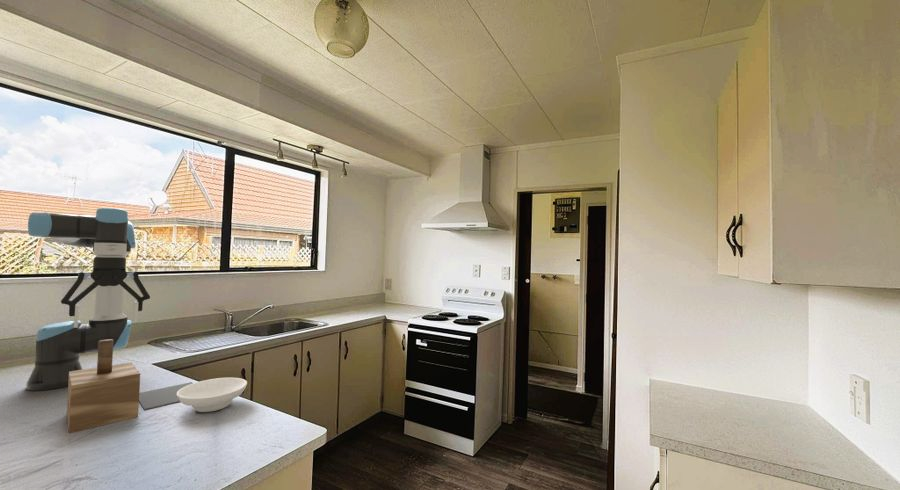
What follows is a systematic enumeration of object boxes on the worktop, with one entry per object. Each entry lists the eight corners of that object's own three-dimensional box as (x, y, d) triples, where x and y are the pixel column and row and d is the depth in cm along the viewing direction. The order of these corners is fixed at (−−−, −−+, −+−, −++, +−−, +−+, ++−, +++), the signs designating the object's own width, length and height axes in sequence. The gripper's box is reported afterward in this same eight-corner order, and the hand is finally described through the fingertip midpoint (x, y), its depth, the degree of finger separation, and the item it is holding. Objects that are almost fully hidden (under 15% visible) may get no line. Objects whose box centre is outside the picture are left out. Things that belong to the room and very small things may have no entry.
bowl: (259, 401, 125) (260, 381, 125) (205, 425, 106) (206, 402, 107) (218, 393, 131) (219, 374, 132) (160, 415, 113) (161, 393, 113)
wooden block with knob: (66, 414, 113) (70, 339, 113) (129, 400, 124) (132, 332, 125) (69, 433, 101) (73, 349, 102) (138, 416, 112) (141, 341, 113)
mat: (134, 394, 129) (134, 393, 129) (191, 383, 142) (191, 382, 142) (144, 410, 116) (144, 409, 116) (205, 395, 129) (205, 394, 129)
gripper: (51, 256, 102) (47, 331, 101) (162, 257, 121) (159, 320, 120) (51, 256, 107) (47, 327, 106) (157, 257, 126) (155, 318, 125)
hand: (106, 324), depth 113 cm, fingers open, 13 cm apart
